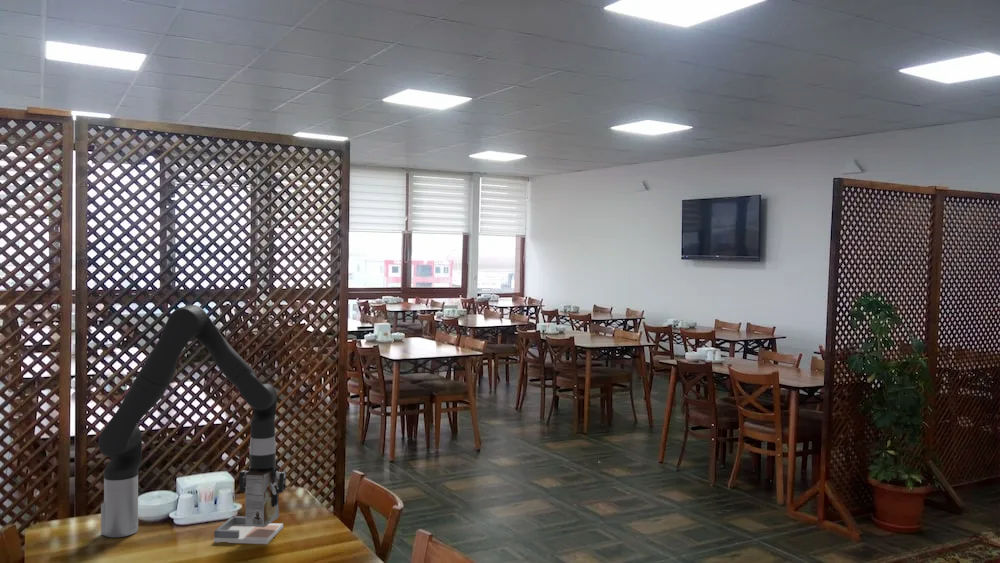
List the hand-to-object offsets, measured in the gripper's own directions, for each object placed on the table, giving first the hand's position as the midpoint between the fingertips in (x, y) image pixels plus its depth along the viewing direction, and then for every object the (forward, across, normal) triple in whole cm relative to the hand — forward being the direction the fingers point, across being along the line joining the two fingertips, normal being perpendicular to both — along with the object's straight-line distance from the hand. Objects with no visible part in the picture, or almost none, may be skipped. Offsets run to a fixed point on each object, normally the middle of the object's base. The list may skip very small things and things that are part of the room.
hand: (262, 505), depth 228 cm
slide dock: (+9, -4, 0) cm, 10 cm away
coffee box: (+5, 0, 0) cm, 5 cm away
